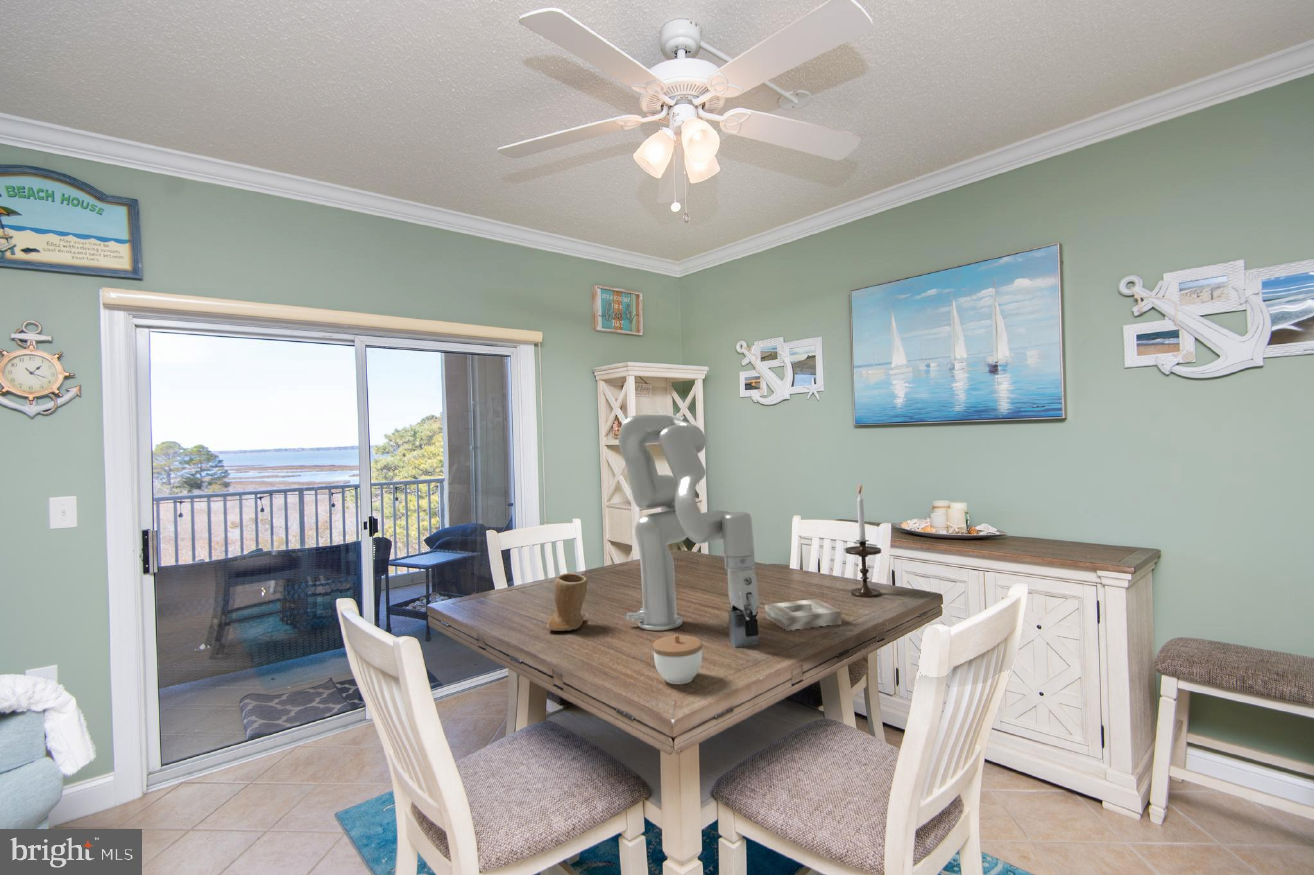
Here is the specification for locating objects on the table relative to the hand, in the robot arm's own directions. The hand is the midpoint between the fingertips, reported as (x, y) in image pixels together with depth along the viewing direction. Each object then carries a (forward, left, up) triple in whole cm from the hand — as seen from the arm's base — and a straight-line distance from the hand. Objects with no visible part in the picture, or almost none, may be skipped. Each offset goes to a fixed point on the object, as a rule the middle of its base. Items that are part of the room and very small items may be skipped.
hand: (744, 630), depth 148 cm
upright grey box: (0, 0, -4) cm, 4 cm away
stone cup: (-41, +33, -4) cm, 53 cm away
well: (+22, +12, -3) cm, 25 cm away
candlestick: (+53, +30, -4) cm, 61 cm away
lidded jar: (-21, -16, -4) cm, 27 cm away
